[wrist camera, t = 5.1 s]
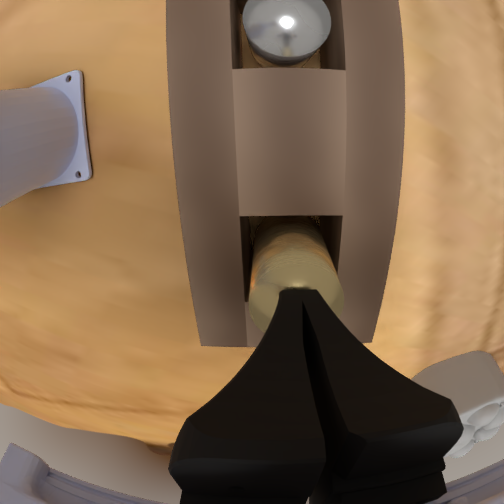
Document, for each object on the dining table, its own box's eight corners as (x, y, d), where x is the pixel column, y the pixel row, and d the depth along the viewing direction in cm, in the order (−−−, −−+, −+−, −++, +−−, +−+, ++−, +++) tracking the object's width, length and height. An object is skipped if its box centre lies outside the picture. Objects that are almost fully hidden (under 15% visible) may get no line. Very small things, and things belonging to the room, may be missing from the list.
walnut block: (215, 289, 22) (201, 345, 17) (195, -22, 13) (168, -63, 7) (350, 287, 22) (371, 342, 17) (356, -22, 12) (386, -61, 7)
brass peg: (255, 271, 17) (250, 342, 12) (253, 210, 16) (246, 264, 11) (319, 270, 17) (338, 339, 12) (323, 209, 16) (349, 263, 10)
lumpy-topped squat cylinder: (412, 367, 26) (439, 436, 18) (505, 338, 25) (539, 390, 17) (396, 419, 31) (411, 477, 23) (479, 392, 29) (501, 440, 21)
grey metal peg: (251, 73, 16) (244, 57, 10) (249, 19, 14) (241, -16, 9) (313, 73, 15) (333, 58, 10) (310, 19, 14) (327, -14, 9)
